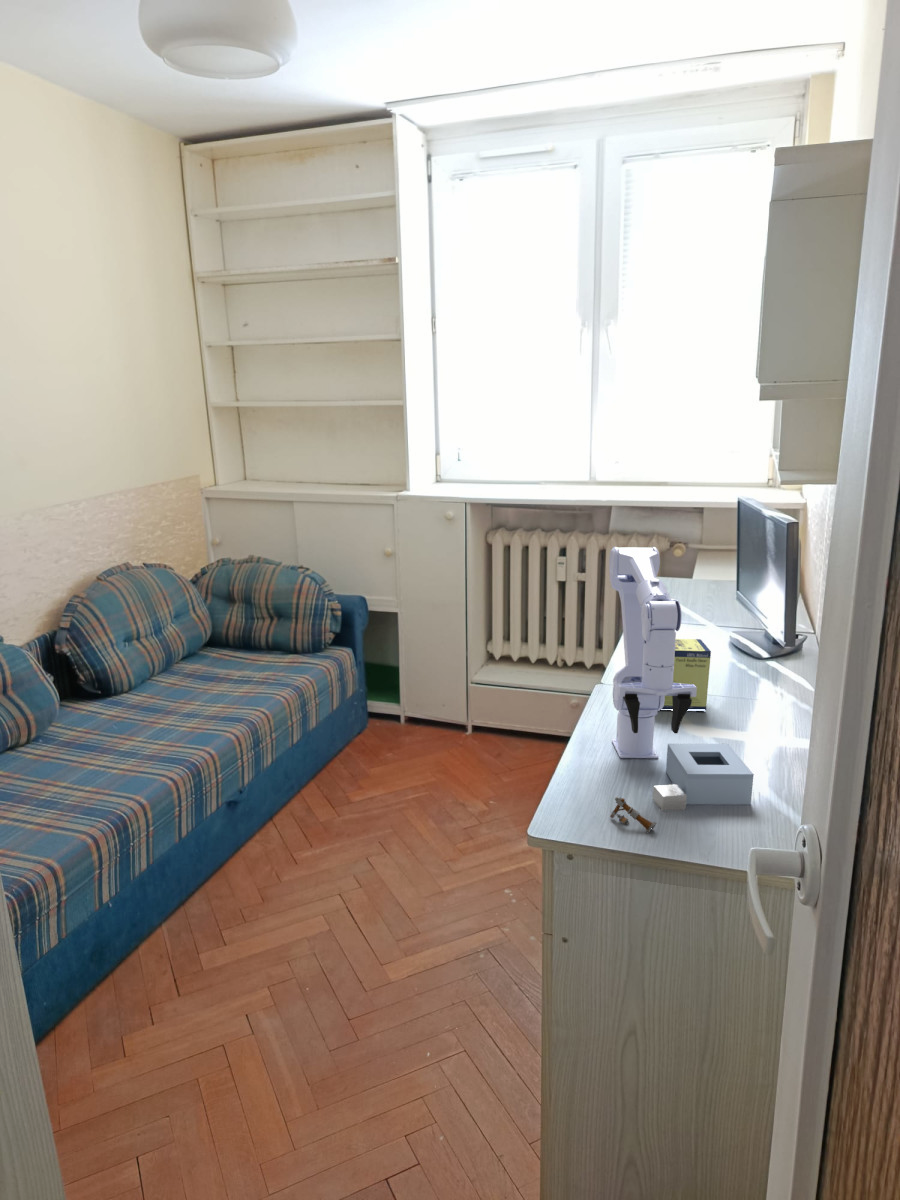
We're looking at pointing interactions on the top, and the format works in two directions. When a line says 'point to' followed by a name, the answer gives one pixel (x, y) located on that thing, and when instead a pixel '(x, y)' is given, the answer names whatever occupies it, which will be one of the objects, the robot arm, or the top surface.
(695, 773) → the grey box with hole
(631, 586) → the robot arm
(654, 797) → the white square block
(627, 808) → the wooden post with brackets
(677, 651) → the protein box
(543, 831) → the top surface
